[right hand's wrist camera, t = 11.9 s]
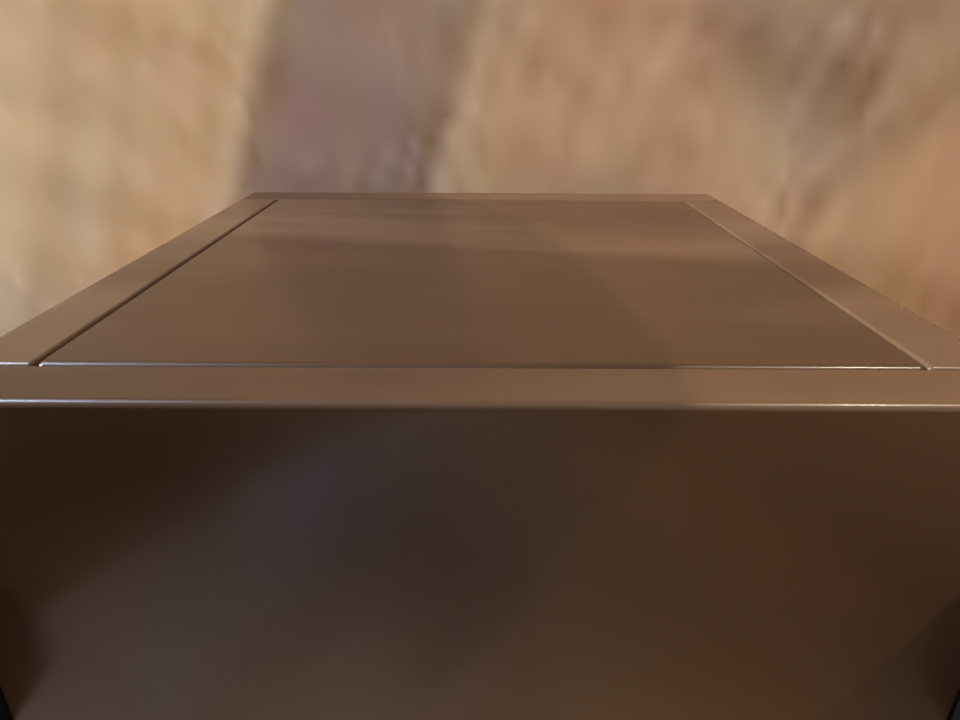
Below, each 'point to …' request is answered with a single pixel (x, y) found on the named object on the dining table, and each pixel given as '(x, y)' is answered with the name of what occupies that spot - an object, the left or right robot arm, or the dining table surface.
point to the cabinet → (479, 473)
